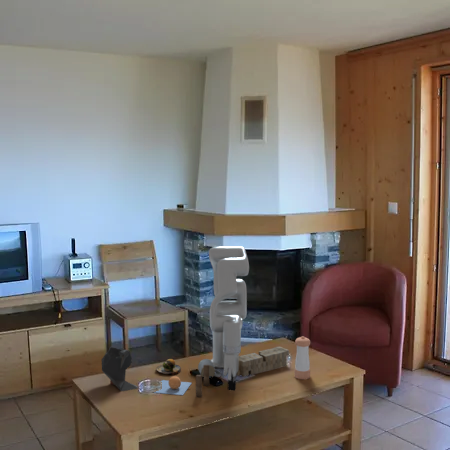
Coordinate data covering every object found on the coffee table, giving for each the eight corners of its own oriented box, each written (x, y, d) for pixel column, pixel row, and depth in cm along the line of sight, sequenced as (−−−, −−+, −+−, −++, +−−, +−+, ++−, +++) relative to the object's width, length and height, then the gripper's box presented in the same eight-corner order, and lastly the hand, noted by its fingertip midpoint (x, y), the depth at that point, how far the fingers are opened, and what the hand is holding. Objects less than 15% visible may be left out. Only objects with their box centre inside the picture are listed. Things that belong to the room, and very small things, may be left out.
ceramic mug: (200, 380, 256) (201, 364, 256) (197, 374, 264) (198, 359, 263) (222, 379, 259) (222, 363, 258) (219, 373, 266) (219, 357, 265)
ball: (177, 372, 249) (184, 382, 249) (168, 379, 250) (175, 389, 249) (174, 375, 244) (181, 386, 243) (164, 382, 245) (171, 393, 244)
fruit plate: (154, 368, 272) (153, 353, 271) (177, 366, 276) (177, 351, 275) (159, 377, 261) (158, 362, 260) (183, 374, 264) (183, 359, 264)
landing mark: (162, 380, 256) (162, 380, 256) (191, 383, 253) (191, 382, 253) (151, 392, 243) (151, 392, 243) (182, 395, 240) (182, 394, 240)
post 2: (204, 383, 253) (204, 364, 252) (209, 384, 252) (209, 364, 251) (202, 385, 250) (202, 366, 249) (208, 386, 250) (208, 366, 249)
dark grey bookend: (129, 376, 261) (128, 339, 259) (139, 388, 247) (138, 348, 245) (98, 381, 255) (97, 343, 253) (106, 393, 241) (105, 353, 239)
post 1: (196, 394, 240) (196, 374, 239) (202, 395, 240) (202, 374, 239) (195, 397, 238) (195, 376, 237) (201, 397, 237) (201, 377, 236)
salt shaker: (305, 372, 266) (305, 333, 264) (313, 378, 259) (313, 337, 257) (291, 374, 263) (292, 335, 261) (299, 380, 257) (299, 339, 255)
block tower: (241, 380, 260) (289, 365, 276) (240, 362, 259) (289, 349, 275) (231, 374, 266) (279, 361, 282) (231, 357, 265) (279, 344, 281)
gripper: (227, 342, 248) (227, 382, 250) (219, 353, 234) (219, 396, 236) (243, 343, 246) (243, 384, 248) (237, 354, 232) (237, 397, 234)
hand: (231, 389), depth 242 cm, fingers closed
